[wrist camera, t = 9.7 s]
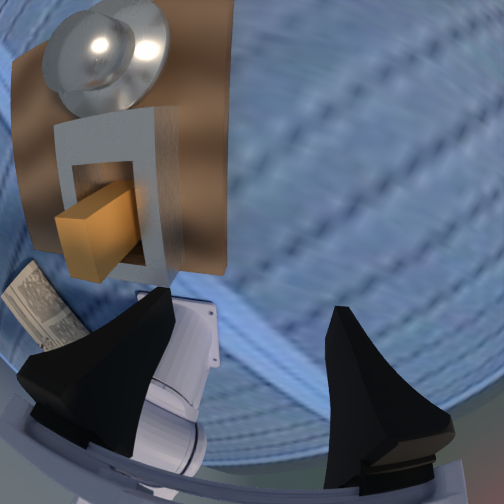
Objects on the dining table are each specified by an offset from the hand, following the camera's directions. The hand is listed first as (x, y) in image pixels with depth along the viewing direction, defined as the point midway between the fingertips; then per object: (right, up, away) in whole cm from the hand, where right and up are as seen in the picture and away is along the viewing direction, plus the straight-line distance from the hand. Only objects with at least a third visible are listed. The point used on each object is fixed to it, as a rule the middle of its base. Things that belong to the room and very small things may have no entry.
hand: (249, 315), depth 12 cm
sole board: (-12, +12, +7) cm, 18 cm away
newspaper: (-26, -16, +25) cm, 39 cm away
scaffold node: (-9, +11, +5) cm, 15 cm away
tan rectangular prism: (-9, +6, +7) cm, 13 cm away
